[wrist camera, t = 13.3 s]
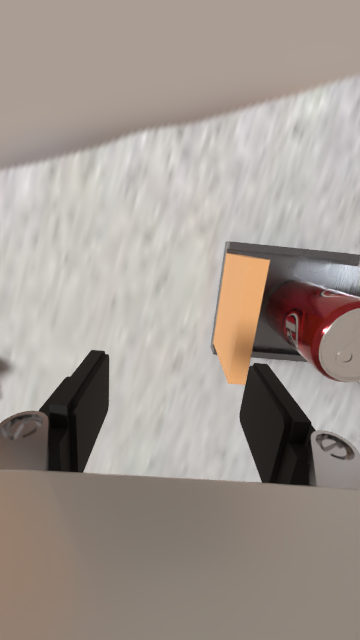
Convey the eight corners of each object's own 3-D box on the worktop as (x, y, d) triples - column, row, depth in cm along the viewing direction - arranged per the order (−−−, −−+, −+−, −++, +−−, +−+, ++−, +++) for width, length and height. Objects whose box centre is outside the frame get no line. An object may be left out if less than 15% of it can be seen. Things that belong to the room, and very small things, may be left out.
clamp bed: (210, 346, 34) (227, 395, 23) (225, 241, 30) (254, 241, 19) (321, 355, 35) (388, 407, 24) (351, 254, 31) (449, 260, 20)
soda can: (299, 267, 30) (378, 282, 18) (332, 309, 31) (422, 348, 20) (252, 306, 31) (297, 345, 20) (285, 345, 33) (345, 401, 21)
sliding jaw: (213, 342, 32) (228, 383, 23) (226, 253, 29) (250, 258, 19) (225, 343, 32) (245, 384, 23) (239, 254, 29) (270, 259, 19)
